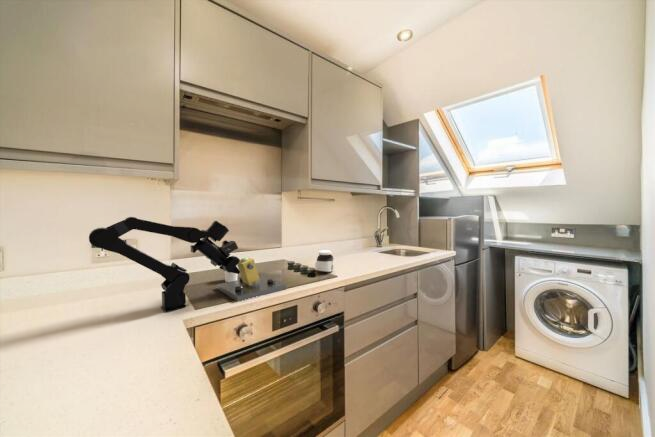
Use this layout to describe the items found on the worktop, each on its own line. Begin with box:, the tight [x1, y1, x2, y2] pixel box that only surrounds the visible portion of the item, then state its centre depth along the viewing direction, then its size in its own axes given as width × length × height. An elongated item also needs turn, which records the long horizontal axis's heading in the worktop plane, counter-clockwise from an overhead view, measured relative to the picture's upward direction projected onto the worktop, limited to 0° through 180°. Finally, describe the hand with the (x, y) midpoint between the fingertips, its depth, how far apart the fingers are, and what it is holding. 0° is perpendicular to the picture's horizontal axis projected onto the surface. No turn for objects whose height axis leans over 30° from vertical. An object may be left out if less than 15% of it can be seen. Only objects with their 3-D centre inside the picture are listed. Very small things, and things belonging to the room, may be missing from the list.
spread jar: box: [314, 249, 335, 275], centre depth 141 cm, size 12×11×12 cm
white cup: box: [223, 265, 239, 283], centre depth 126 cm, size 7×7×7 cm
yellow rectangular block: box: [237, 256, 260, 285], centre depth 110 cm, size 5×9×12 cm, turn 42°
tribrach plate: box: [216, 275, 287, 303], centre depth 112 cm, size 22×22×5 cm
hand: (239, 272), depth 108 cm, fingers closed
